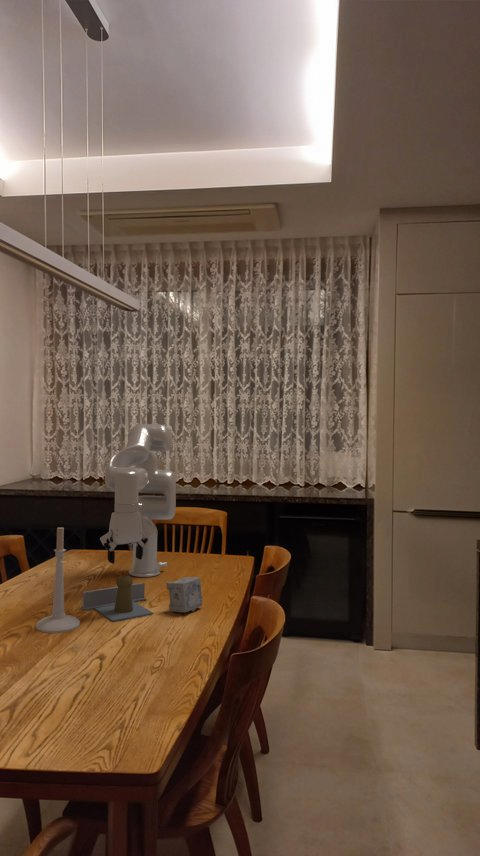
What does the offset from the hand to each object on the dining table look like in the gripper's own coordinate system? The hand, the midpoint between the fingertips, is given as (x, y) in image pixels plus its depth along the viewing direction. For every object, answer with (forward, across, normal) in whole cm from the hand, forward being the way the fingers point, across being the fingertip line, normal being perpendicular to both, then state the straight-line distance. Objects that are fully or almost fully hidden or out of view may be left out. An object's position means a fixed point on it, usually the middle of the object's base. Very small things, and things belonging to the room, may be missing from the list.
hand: (125, 560), depth 194 cm
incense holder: (+17, -18, +9) cm, 26 cm away
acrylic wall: (+17, 0, -9) cm, 19 cm away
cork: (+16, 0, 0) cm, 16 cm away
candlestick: (+17, +22, +2) cm, 28 cm away
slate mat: (+17, 0, +1) cm, 17 cm away
